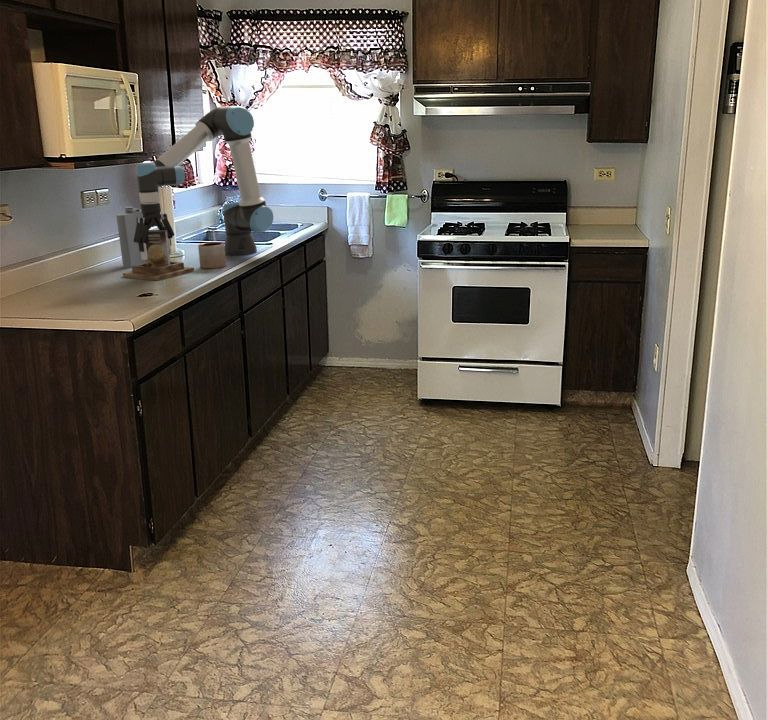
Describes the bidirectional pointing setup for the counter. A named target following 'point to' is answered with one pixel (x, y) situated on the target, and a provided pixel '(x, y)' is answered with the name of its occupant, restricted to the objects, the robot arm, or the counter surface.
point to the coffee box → (157, 248)
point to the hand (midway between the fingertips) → (156, 256)
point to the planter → (212, 255)
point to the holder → (158, 271)
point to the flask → (129, 237)
